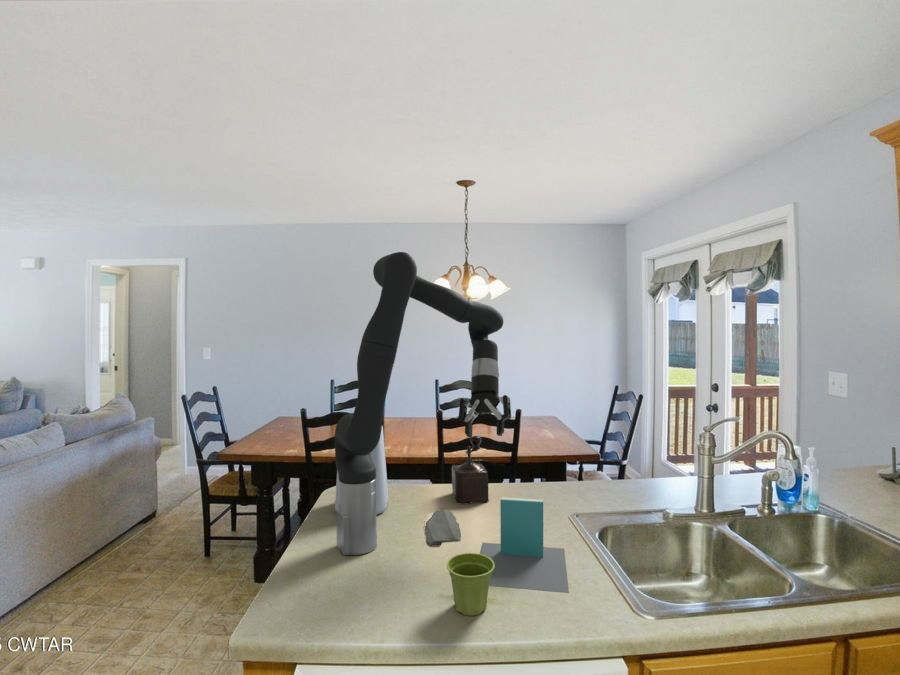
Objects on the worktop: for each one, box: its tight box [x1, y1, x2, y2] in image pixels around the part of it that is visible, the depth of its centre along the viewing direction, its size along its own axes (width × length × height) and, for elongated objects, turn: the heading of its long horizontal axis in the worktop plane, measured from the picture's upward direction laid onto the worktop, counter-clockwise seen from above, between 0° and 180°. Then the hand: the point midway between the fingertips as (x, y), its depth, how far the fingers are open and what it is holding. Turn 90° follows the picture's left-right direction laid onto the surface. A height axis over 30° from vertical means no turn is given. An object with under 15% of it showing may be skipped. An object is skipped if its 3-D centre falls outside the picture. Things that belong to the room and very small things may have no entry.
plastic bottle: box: [334, 425, 389, 516], centre depth 149 cm, size 15×15×28 cm
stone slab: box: [424, 508, 462, 546], centre depth 135 cm, size 22×3×10 cm
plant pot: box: [446, 552, 495, 617], centre depth 96 cm, size 9×9×9 cm
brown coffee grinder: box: [451, 435, 490, 504], centre depth 160 cm, size 16×11×18 cm
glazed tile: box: [499, 496, 544, 557], centre depth 117 cm, size 2×10×13 cm, turn 80°
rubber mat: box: [479, 542, 570, 594], centre depth 111 cm, size 20×20×1 cm
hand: (484, 436), depth 129 cm, fingers open, 8 cm apart
